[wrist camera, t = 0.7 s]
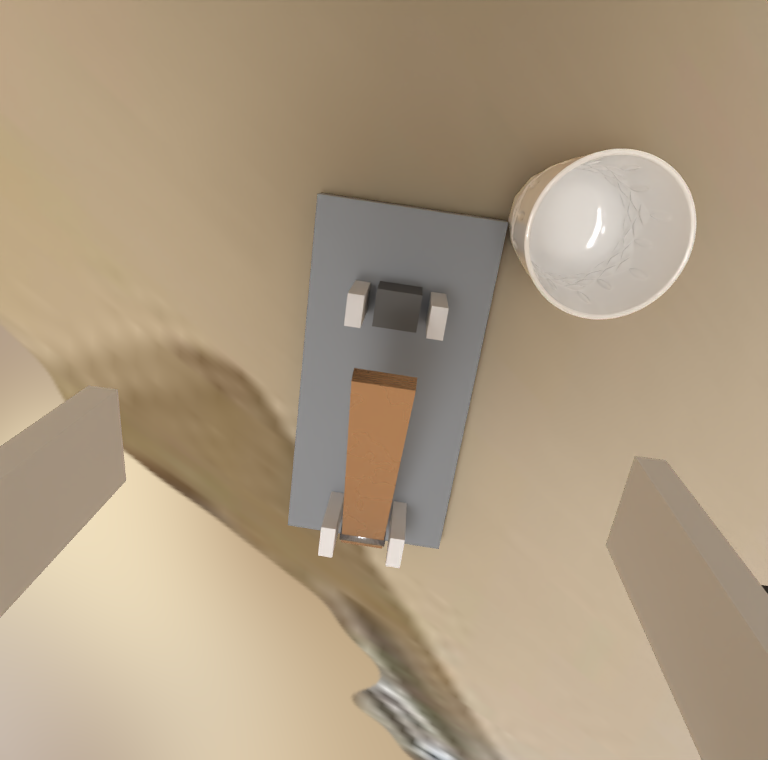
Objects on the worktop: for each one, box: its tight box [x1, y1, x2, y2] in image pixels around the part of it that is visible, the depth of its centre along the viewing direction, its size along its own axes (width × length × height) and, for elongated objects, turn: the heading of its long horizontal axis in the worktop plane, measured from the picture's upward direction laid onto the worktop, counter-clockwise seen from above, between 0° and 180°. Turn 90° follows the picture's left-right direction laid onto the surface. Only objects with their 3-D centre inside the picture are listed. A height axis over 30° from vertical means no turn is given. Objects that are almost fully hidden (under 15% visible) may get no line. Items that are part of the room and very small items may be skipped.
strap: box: [340, 368, 417, 548], centre depth 33 cm, size 19×3×1 cm
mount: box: [288, 193, 508, 568], centre depth 37 cm, size 25×12×6 cm, turn 172°
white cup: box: [508, 149, 696, 319], centre depth 31 cm, size 8×8×10 cm
